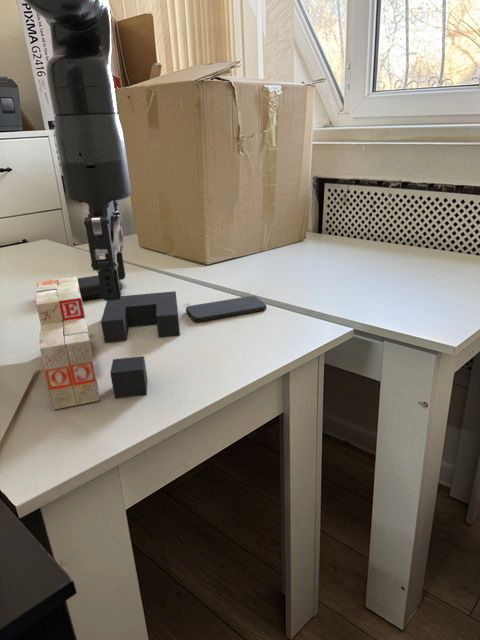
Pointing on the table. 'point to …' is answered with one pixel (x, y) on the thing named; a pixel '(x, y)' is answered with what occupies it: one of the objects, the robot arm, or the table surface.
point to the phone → (225, 308)
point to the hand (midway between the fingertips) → (115, 288)
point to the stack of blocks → (65, 343)
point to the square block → (129, 377)
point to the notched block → (140, 315)
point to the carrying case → (91, 287)
